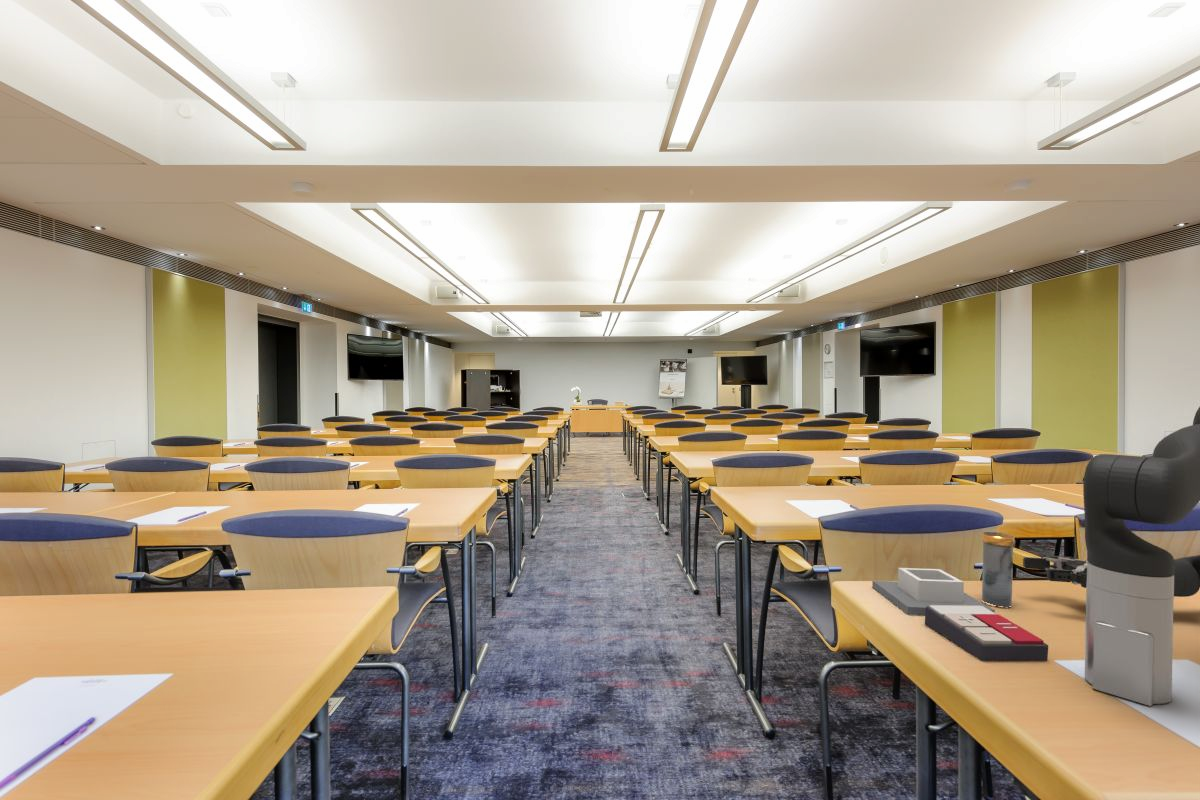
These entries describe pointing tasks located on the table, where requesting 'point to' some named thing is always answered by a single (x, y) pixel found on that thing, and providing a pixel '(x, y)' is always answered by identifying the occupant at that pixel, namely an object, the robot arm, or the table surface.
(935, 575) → the duct collar
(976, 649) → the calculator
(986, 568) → the lidded canister
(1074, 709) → the table surface
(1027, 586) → the table surface
